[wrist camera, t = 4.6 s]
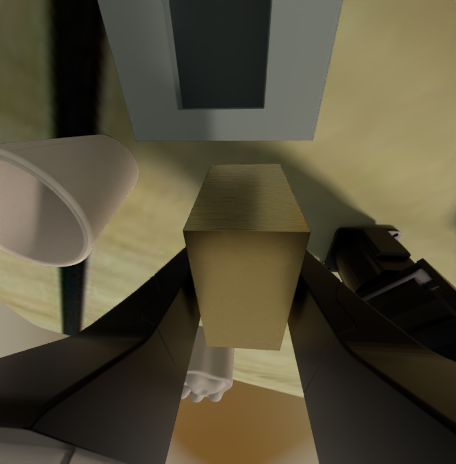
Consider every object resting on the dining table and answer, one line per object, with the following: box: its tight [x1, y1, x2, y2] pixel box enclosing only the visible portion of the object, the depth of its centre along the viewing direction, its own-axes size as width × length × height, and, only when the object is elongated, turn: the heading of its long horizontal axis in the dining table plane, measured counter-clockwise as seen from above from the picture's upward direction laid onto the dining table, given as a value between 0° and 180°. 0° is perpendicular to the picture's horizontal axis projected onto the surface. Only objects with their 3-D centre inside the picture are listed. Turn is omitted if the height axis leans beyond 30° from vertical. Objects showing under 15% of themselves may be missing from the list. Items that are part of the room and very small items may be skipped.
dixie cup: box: [0, 135, 139, 267], centre depth 16 cm, size 8×8×10 cm
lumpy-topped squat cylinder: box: [181, 327, 234, 402], centre depth 38 cm, size 10×13×9 cm
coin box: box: [98, 0, 343, 141], centre depth 11 cm, size 11×10×7 cm
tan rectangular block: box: [183, 164, 310, 350], centre depth 8 cm, size 6×3×5 cm, turn 2°
